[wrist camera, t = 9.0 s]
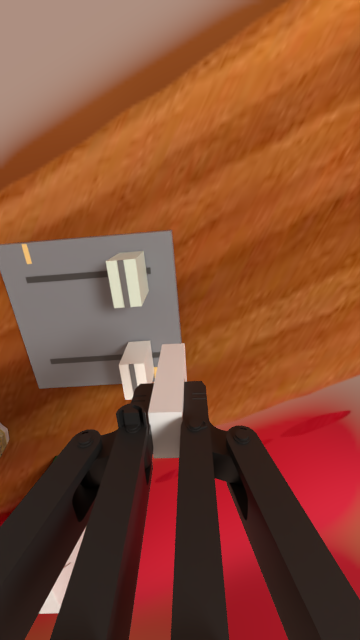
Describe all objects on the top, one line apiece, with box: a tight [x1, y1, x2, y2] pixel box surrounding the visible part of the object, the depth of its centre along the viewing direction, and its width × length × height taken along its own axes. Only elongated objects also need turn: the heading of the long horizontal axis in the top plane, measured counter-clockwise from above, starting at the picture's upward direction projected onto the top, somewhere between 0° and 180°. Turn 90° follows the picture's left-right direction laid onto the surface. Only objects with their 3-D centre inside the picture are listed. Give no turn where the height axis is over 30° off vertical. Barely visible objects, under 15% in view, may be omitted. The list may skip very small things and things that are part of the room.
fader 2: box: [119, 341, 154, 400], centre depth 35 cm, size 3×5×6 cm, turn 5°
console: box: [0, 230, 182, 389], centre depth 37 cm, size 22×21×2 cm
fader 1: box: [106, 251, 149, 308], centre depth 31 cm, size 3×5×6 cm, turn 5°
